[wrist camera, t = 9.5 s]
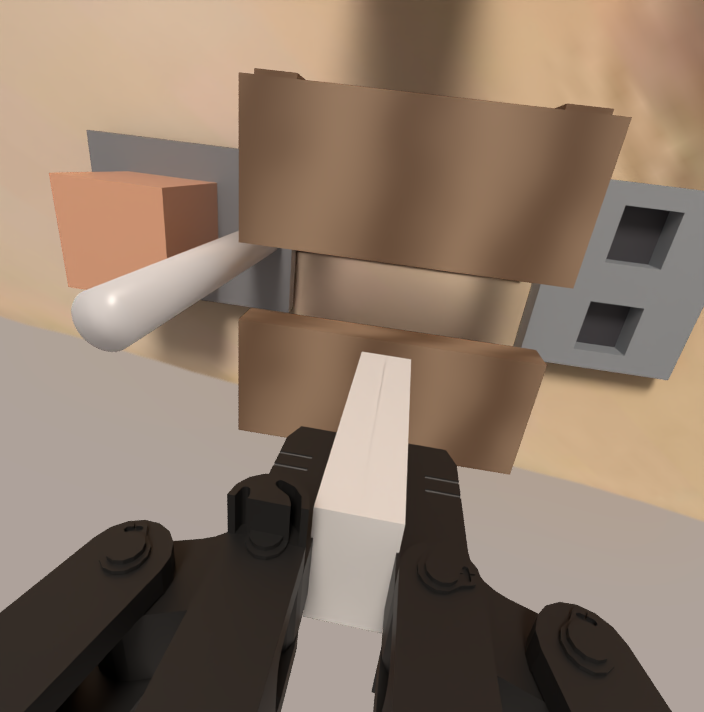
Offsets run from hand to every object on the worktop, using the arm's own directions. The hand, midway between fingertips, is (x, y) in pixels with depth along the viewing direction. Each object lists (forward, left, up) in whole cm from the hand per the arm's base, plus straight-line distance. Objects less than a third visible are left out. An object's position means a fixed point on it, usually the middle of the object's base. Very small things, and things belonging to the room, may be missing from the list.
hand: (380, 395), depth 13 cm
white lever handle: (+16, 0, -24) cm, 29 cm away
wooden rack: (+8, 0, -24) cm, 25 cm away
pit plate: (-17, 0, -24) cm, 29 cm away
